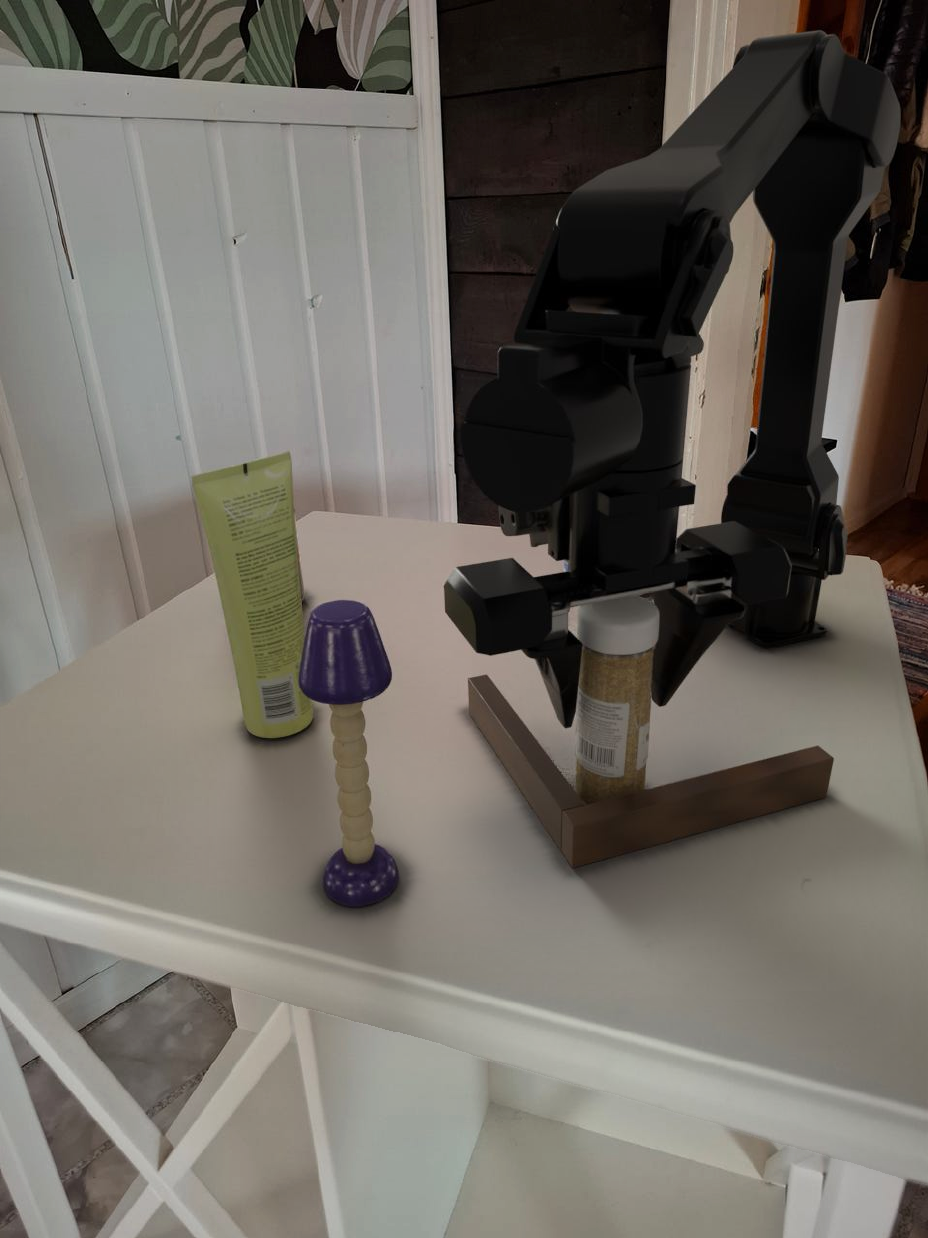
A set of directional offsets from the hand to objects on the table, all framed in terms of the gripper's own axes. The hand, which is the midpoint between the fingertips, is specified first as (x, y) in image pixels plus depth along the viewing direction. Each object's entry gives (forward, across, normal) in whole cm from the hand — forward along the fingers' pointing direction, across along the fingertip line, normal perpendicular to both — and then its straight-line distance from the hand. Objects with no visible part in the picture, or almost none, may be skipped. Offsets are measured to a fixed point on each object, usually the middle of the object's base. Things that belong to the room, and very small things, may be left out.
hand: (612, 713), depth 51 cm
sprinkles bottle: (+7, 0, 0) cm, 7 cm away
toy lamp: (+7, +16, +1) cm, 17 cm away
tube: (+7, +18, -17) cm, 25 cm away
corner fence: (+6, -4, -4) cm, 9 cm away
